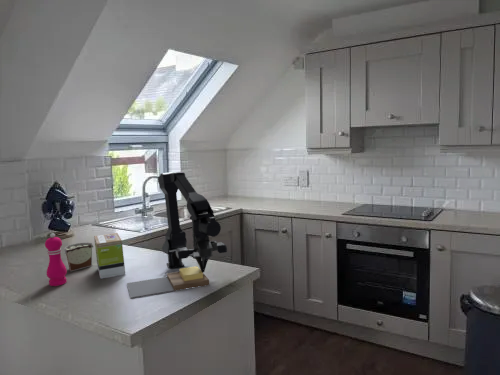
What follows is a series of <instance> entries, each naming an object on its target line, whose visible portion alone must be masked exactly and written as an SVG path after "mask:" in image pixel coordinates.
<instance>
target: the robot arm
mask: <svg viewBox="0 0 500 375" xmlns="http://www.w3.org/2000/svg"><path fill="white" fill-rule="evenodd" d="M157 184H159V189H160V190H161V192H162V193H163V194H164V199H165V200H164V201H165V209H166V210H165V211H166V220H167V230H166V233H165V238H164V243H163V245H162V247H161V248H162V253H164V254H166V255H167V260H168V261H167V263H166V265H167V267H168V268H169V269H175V268H180V267H181V268H183V267H185V264H184V262H183V260H184V259H188V257H190V256H191V257H192V258H193V259H194V260H196V262H197V266H198V268H200V270H201V271H202V272H203V273H205V271H206V267H207V265H208V261H209V259H210V257H213V256H214V255H213V252H216V251H217V252H218V253H219V254H222V253H227V252H228V246H227V244H225V243H224V242H222V241H220V242H217V240H211V241H210V237H216V236H218V235H219V234H220V232H221V229H222V227H221V225H220V222H218V220H216V217H215V214H214V211H213V209H212V207H211V205H210V203H209V200H208V199H207V198H206V196H204V195H202V194H199V193H198V192H197V191H196V189H195V188H194V187H193V185H192V184H191V183H190V181H189V179H188V178H187V176H186V174H185V172H184V171H170V172H163V173H160V174H159V175H158V177H157ZM178 191H179V192H180V193H181V195H182V197H183V198H184V199H185V201H186V209H187V211H188V213H189V215H190V217H189V220H191V228H192V243H193V244H192V246H193V248H191V249H190V248H189V249H188V248H187V243H188V240H187V237H186V236H187V234H186V232H185V231H183V229H182V228H181V225H180V224H181V223H180V216H179V215H180V213H179V207H178V197H177V194H178V193H177V192H178Z"/></svg>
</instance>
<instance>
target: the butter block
mask: <svg viewBox="0 0 500 375" xmlns="http://www.w3.org/2000/svg"><path fill="white" fill-rule="evenodd" d="M199 268H200V267H199V265H196V266H189V267H188V266H187V267H181V268H179V271H180V275H181V277H182V278H183V280H184V281H187V280H194V279H200V278H203V273H204V272H202V271H201V269H199ZM179 271H178V272H179Z"/></svg>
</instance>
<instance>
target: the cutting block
mask: <svg viewBox="0 0 500 375" xmlns="http://www.w3.org/2000/svg"><path fill="white" fill-rule="evenodd" d="M198 268H199V269H200V267H198ZM200 270H201V269H200ZM166 277H167V278H168V280H169V282H170V284H171V285H172V287H173V289H174V292H177V291H181V290H180V289H183V290H187V289H186V288H189V289H193V288H192V287H195V288H199V287H198V286H201V287H205V285H206V286H210V279H209V278H208V277H207V275H206V274H205V272H203V278H200V279H194V280H187V281H184V280H183V278H182V277H181V275H180V271H175V272H168V273H166ZM176 290H177V291H176Z"/></svg>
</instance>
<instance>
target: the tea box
mask: <svg viewBox="0 0 500 375" xmlns="http://www.w3.org/2000/svg"><path fill="white" fill-rule="evenodd" d="M93 238H94V246H95V253H96V254H95V255H96V263H97V269H98V275H99V279H107V278H113V277H119V276H123V275H126V268H125V257H124V247H123V241H122V238H121V237H120V235H119V233H118V232H113V233H106V234H101V235H100V234H99V235H94V237H93Z"/></svg>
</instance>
